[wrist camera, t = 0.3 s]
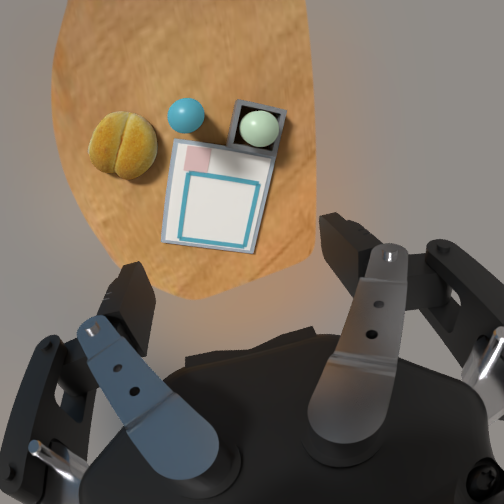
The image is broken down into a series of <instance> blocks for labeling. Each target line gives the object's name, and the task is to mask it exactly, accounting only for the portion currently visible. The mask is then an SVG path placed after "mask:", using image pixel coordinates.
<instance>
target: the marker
mask: <svg viewBox="0 0 504 504" xmlns="http://www.w3.org/2000/svg"><path fill="white" fill-rule="evenodd" d="M203 121H204V109H203V107H202V105H201V104H200V103H199V102H198V101H196V100H194V99H191V98H183V99H180V100H177V101H176V102H175V103H173V104H172V106H171V107H170V109H169V111H168V122H169V124H170V126H171V127H172V128H173V129H174V130H175V131H177V132H179V133H191V132H193V131H195V130H197V129H198V128H199V127H200V126H201V124H202V123H203Z"/></svg>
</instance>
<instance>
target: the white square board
mask: <svg viewBox="0 0 504 504" xmlns="http://www.w3.org/2000/svg"><path fill="white" fill-rule="evenodd" d="M275 159H276V157H273V156H268V155H264V154H259V153H254V152H248V151H243V150H238V149H232V148H227V147H226V146H224V145H218V144H212V143H205V142H198V141H191V140H184V139H176V138H174V143H173V149H172V155H171V161H170V168H169V175H168V182H167V190H166V198H165V206H164V215H163V225H162V235H161V242H164V243H172V244H180V245H188V246H196V247H204V248H212V249H220V250H228V251H236V252H244V253H252V254H253V252H254V248H255V244H256V239H257V235H258V231H259V227H260V223H261V218H262V214H263V210H264V206H265V201H266V197H267V193H268V189H269V185H270V180H271V176H272V172H273V168H274V163H275Z"/></svg>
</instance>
